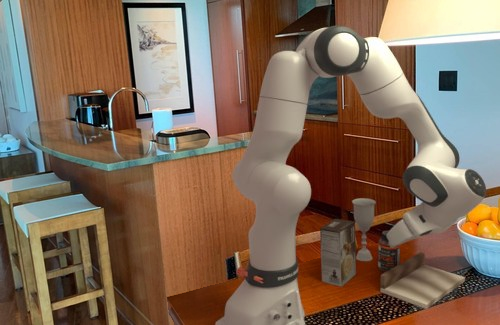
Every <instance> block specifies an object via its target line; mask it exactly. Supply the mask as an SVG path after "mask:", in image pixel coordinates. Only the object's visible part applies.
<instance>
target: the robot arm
mask: <svg viewBox="0 0 500 325" xmlns="http://www.w3.org/2000/svg"><path fill="white" fill-rule="evenodd" d="M400 65H401V64H400V63H399V62H398V59H397V58H396V56H394V54H393V52H392V51H391V49H390V47H388V45H387V44H386V43H385V42H384V40H383V39H381V38H380V37H375V36H368V37H365V38H364V37H362V36H361V35H359V34H358V32H356V31H355V30H353V29H352V28H350V27H348V26H345V25H331V26H329V27H322V28H319V29H316V30H315V31H313V32H310V33H308V34H307V35H305V36H304V37H303V38H302V39H301V40H300V41H299V43H298V44H297V45H296V46H295V47H294V49H293V50H282V51H278V52H277V53H275V54H274V55H272V56H271V58H270V59H269V62H268V65H267V67H266V70H265V73H264V77H263V79H262V83H261V87H260V93H259V97H258V103H257V110H256V116H255V121H254V126H253V130H252V133H251V137H250V139H249V142H248V144H247V146H246V149H245V151H244V153H243V156H242V158H240V159H239V161H237V162H236V164H235V166H234V168H233V170H232V181H233V184H234V186H235V187H236V190H238V192H239V193H240V194H241V195H242V196H243V197H244V198H246V199H247V200H249V201H251V202H253V203H254V205H255V218H254V223H253V225H252V226H250V228H249V230H248V235H247V236H248V249H249V252H248V253H249V260H248V264H247V267H246V269H245V268H243V267H242V266H239V267H238V268H237V269H236V272H235V273H236V275H238V276H240V277H241V278H244V280H243V281H242V282H241V284H240V285H239V286H238V288H236V290H235V291H234V292H233V294H232V295H231V296H230V297H229V298H228V300H227V301H226V303H225V307H224V316H222V317H221V318H219V319H218V320H217V321H215V324H214V325H306V321H305V316H306V315H305V314H306V312H305V310H304V307H303V303H302V301H301V294H300V289H299V283H298V277H299V265H298V264H299V263H298V259H297V257H296V256H297V254H296V250H297V249H296V229H297V223H298V220H299V216H300V213H301V212H303V211H304V210H305V209H306V207H307V206H308V205H309V202H310V201H311V196H312V188H311V183H310V181H309V180H308V178H307V177H305V175H304V174H303V173H301V172H300V171H299V170H298V169H297V168H296V167H293V166H290V165H288V164H286V163H287V159H288V157H289V155H290V152H291V150H292V149H293V148H294V146H295V145H296V144H297V143H299V141H300V140H301V139H302V137H303V132H304V126H305V120H306V116H307V110H308V109H307V108H308V102H309V98H310V90H311V88H312V85H313V84H314V82H315V81H316V79H318V78H320V77H321V78H327V79H328V78H334V77H341V76H347V77H348V78H349V79H350V80H351V81H352V83H353V84H354V87H355V88H356V91H357V93H358V94H359V96H360V98H361V102H362V103H363V105H364V106H365V108H366V109H367V110H368V111H369V112H370V114H371V115H372V116H375V117H377V118H380V119H395V118H398V119H399V118H400V119H401V120H402V122H404V124H405V125H406V127H407V128H408V130H409V131H410V133H411V135H412V136H413V139H414V140H415V141H416V143H417V152H416V155H415V156H414V158H413V159H412V161H410V163H408V164H409V165H408V166H407V167H406V169H405V170H404V172H403V174H402V183H403V186H404V188H406V190H407V192H409V193H410V194H411V195H412V196H413V197H415V198H416V199H417V200H419V201H420V202H421V203H420V204H418V205H417V206H415V207H414V208H412V209H410V210H408V211H406V212H405V213H403V215H402V219H400V220H399V221H397V223H396V224H394V226H392V227H391V228H390V231H389V232H388V233H387V239H388V240H389V246H390V247H391V248H394V247H396V246H397V245H400V246H401V245H403V244H404V243H407V242H410V241H412V240H417V239H420V238H421V237H424V236H427V235H440V234H442V233H444V232H445V231H447V230H448V229H450V228H451V227H452V226H453V225H454V224H456V223H457V222H458V221H459V219H460V218H463V217H465V216H467V215H468V214H469V213H470V212H472V211H473V210H474V209H475V208H477V207H479V205H480V203H482V202H483V200H484V199H485V197H486V194H487V187H486V184H485V181H484V178H482V176H481V175H480V174H479V173H478V172H477V171H475V170H474V169H471V168H465V169H462V168H461V169H460V168H457V167H458V166H459V164H460V153H459V151H458V149H457V147H456V146H455V145H454V144H453V143H452V142H451V141H450V140H449V139H447V137H446V136H445V135H444V134H443V133H442V131H441V130H440V128H439V127H438V126H439V125H437V123H436V122H435V120H434V118H433V116H432V114H431V113H430V112H429V110H428V108H427V107H426V104H425V102H424V101H423V100H422V98H421V97H420V96H419V94H418V93H417V92H416V91H414V90H413V88H412V86H411V84H410V83H409V81H408V79H407V78H406V75H405V74H404V71H403V69H402V68H401V66H400Z"/></svg>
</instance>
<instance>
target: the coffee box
mask: <svg viewBox="0 0 500 325" xmlns="http://www.w3.org/2000/svg"><path fill="white" fill-rule="evenodd" d="M319 232H320V233H319V234H320V259H321V260H320V263H321V264H320V265H321V266H320V267H321V281H322V283H326V284H329V285H334V286H338V287H343V286H344V285H345V284H347V283H348V282H349V281H350V280H351V279H352V278H354V276H356V274H357V265H356V264H357V259H356V256H357V254H356V222H355V221H354V220H353V221H352V220H346V219H340V218H334V219H332V220H331V221H329V222H327V223H326V224H325V225H323V226H322V227H320V229H319Z"/></svg>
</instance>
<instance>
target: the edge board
mask: <svg viewBox="0 0 500 325" xmlns="http://www.w3.org/2000/svg"><path fill="white" fill-rule="evenodd" d="M425 256H426V255H425V252H423V251H420V252H418V253H417V254H415V255H413V256H411V257H410V258H407V259H406V260H405V261H402V262H401V263H399V265H397V266H396V267H394V268H392V269H390V270H389V271H387V272H382V273H381V274H380V293H383V294H386V295H387V296H390V297H393V298H396V299H398V300H401V301H404V302H406V303H409V304H411V305H413V306H416V307H420V308H421V309H425V310H427V309H429V308H430V307H432V306H433V305H434V304H436V302H438V301H440V300H441V299H442V298H444V297H445V296H446V295H448V294H449V293H450V292H452V291H453V290H455V289H457V287H460V286H461V285H462V284H463V283H464V282H466V277H465V276H462V275H458V274H456V273H452V272H449V271H445V270H442V269H439V268H436V267H433V266H430V265H426V264H425V258H426V257H425Z"/></svg>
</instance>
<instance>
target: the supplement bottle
mask: <svg viewBox="0 0 500 325" xmlns="http://www.w3.org/2000/svg"><path fill="white" fill-rule="evenodd" d="M390 230H391V229H390ZM390 230H383V231H382V233H381V238H379V240H378V246H377V247H378V248H377V249H378V251H377V257H378V258H377V261H378V262H377V267H378V270H380V272H382V273H385V272H387V271H389V270H390V269H392V268H394V267H396V266H397V265H399V264H400V259H401V258H400V257H401V256H400V252H401V250H400V249H401V244H400V245H397V246H396V247H394V248H391V247H390V246H389V240H388V239H387V233H388V232H389V231H390Z"/></svg>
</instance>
